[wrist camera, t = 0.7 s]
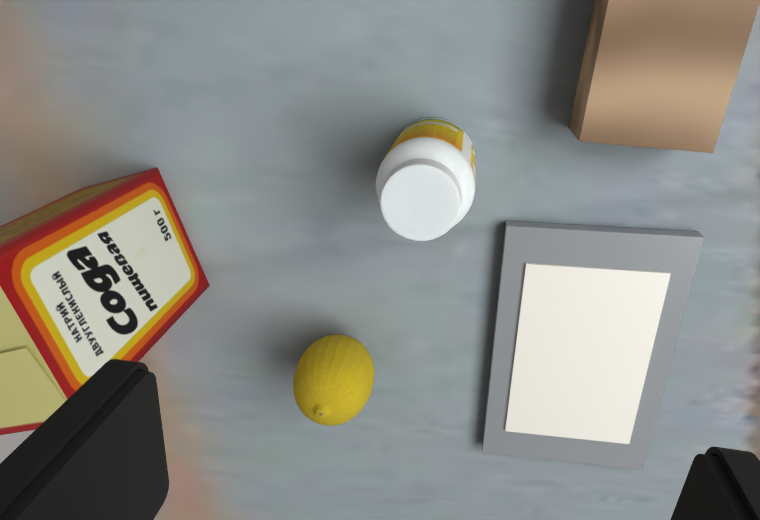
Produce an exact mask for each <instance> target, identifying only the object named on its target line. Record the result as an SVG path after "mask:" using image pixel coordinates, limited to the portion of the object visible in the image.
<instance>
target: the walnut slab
mask: <svg viewBox="0 0 760 520" xmlns="http://www.w3.org/2000/svg"><path fill="white" fill-rule="evenodd" d="M759 3H760V0H594V5H593V10H592V15H591V20H590V25H589V30H588V35H587V40H586V45H585V50H584V55H583V60H582V65H581V70H580V75H579V80H578V85H577V90H576V95H575V100H574V106H573V111H572V116H571V121H570V126H569V129H570V130H571V131H572V132H573V134H574V135H575V136H576V138H577V139H578V140H579V141H584V142H595V143H606V144H617V145H629V146H640V147H651V148H662V149H673V150H684V151H695V152H706V153H713V151H714V148H715V144H716V141H717V138H718V135H719V132H720V128H721V125H722V122H723V119H724V116H725V112H726V109H727V106H728V103H729V100H730V96H731V93H732V90H733V87H734V83H735V80H736V77H737V74H738V71H739V67H740V64H741V61H742V58H743V55H744V51H745V48H746V45H747V42H748V39H749V35H750V32H751V29H752V26H753V22H754V19H755V16H756V13H757V10H758V6H759Z"/></svg>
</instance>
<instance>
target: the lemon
mask: <svg viewBox="0 0 760 520" xmlns="http://www.w3.org/2000/svg"><path fill="white" fill-rule="evenodd" d="M373 383H374V365H373V362H372V359H371V356H370V354H369V352H368V351H367V350H366V348H365V347H364V346H363V345H362V344H361V343H360V342H359V341H357V340H356V339H354V338H352V337H349V336H346V335H338V334H335V335H328V336H325V337H323V338H320V339H318V340H317V341H315V342H314V343H313V344H312V345H310V346H309V347H308V348H307V350H306V351H305V352H304V354H303V355H302V357H301V358H300V360H299V362H298V365H297V368H296V371H295V375H294V396H295V400H296V403H297V405H298V407H299V408H300V410H301V412H302V413H303V414H304V415H305V416H306V417H307V418H309V419H310V420H312V421H314V422H316V423H318V424H322V425H339V424H343V423H345V422H347V421H349V420H351V419H352V418H353V417H354V416H356V415H357V414H358V413H359V412H360V411H361V410H362V408H363V407H364V405H365V403H366V402H367V400H368V398H369V396H370V394H371V391H372V387H373Z"/></svg>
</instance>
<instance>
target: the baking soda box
mask: <svg viewBox="0 0 760 520" xmlns="http://www.w3.org/2000/svg"><path fill="white" fill-rule="evenodd" d="M208 287H209V283H208V281H207V279H206V276H205V274H204V272H203V270H202V267H201V265H200V263H199V261H198V258H197V256H196V254H195V252H194V249H193V247H192V245H191V242H190V240H189V238H188V236H187V233H186V231H185V229H184V227H183V224H182V222H181V220H180V217H179V215H178V213H177V211H176V208H175V206H174V204H173V202H172V199H171V197H170V195H169V193H168V190H167V188H166V186H165V183H164V181H163V179H162V177H161V174H160V172H159V170H158V168H153V169H150V170H146V171H143V172H139V173H136V174H132V175H128V176H125V177H121V178H118V179H114V180H110V181H107V182H103V183H100V184H96V185H93V186H89V187H85V188H82V189H79V190H77V191H75V192H73V193H71V194H69V195H67V196H64V197H62V198H60V199H58V200H56V201H54V202H52V203H49V204H47V205H45V206H43V207H41V208H39V209H37V210H35V211H32V212H30V213H28V214H26V215H24V216H22V217H20V218H17V219H15V220H13V221H11V222H9V223H7V224H5V225H2V226H0V435H3V434H10V433H16V432H23V431H29V430H36V429H37V428H38V427H39V426H40V425H41V424H42V423H43V422H44V421H46V420H47V419H48V418H49V417H50V416H51V415H52V414H53V413H54V412H55V411H56V410H57V409H58V408H59V407H60V406H61V405H62V404H63V403H64V402H65V401H66V400H67V399H68V398H70V397H71V396H72V395H73V394H74V393H75V392H76V391H77V390H78V389H79V388H80V387H81V386H82V385H83V384H84V383H85V382H86V381H87V380H88V379H89V378H90V377H91V376H92V375H94V374H95V373H96V372H97V371H98V370H99V369H100V368H101V367H102V366H103V365H104V364H105V363H106V362H108V361H109V360H111V359H120V360H127V361H134V362H138V361H139V360H140V359H141V358H142V357H143V356H144V355H145V354H146V353H147V352H148V351H149V350H150V349H151V347H152V346H153V345H154V344H155V343H156V342H157V341H158V340H159V339H160V338H161V337H162V336H163V335H164V334H165V333H166V332H167V330H168V329H169V328H170V327H171V326H172V325H173V324H174V323H175V322H176V321H177V320H178V319H179V318H180V317H181V316H182V314H183V313H184V312H185V311H186V310H187V309H188V308H189V307H190V306H191V305H192V304H193V303H194V302H195V301H196V300H197V298H198V297H199V296H200V295H201V294H202V293H203V292H204V291H205V290H206V289H207V288H208Z"/></svg>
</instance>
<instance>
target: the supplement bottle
mask: <svg viewBox="0 0 760 520" xmlns="http://www.w3.org/2000/svg"><path fill="white" fill-rule="evenodd" d="M475 168H476V162H475V151H474V147H473V144H472V142H471V140H470V138H469V137H468V135H467V134H466V133H465V132H464V131H463V130H462V129H461V128H460V127H459V126H458V125H456V124H454V123H452V122H450V121H447V120H444V119H439V118H426V119H421V120H418V121H416V122H414V123H412V124H410V125H409V126H408V127H406V128H405V129H404V130H403V131H402V132H401V133H400V135H399V136H398V137H397V139H396V140H395V142H394V143H393V145H392V147H391V148H390V150H389V152H388V153H387V155H386V156H385V158H384V160H383V161H382V163H381V165H380V168H379V170H378V174H377V178H376V193H377V198H378V201H379V204H380V207H381V212H382V215H383V217H384V220H385V221H386V223H387V224H388V226H389V227H390V228H391V229H392V230H393V231H394V232H396V233H397V234H399V235H400V236H402V237H404V238H407V239H410V240H414V241H427V240H432V239H435V238H438V237H440V236H441V235H443V234H444V233H446V232H447V231H448V230H449V229H450V228H451V227H453V226H454V225H456V224H457V223H458V222H459V221H460V220H461V219H462V218H463V217H464V216H465V215H466V213H467V212H468V210H469V208H470V207H471V204H472V201H473V198H474V193H475Z"/></svg>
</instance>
